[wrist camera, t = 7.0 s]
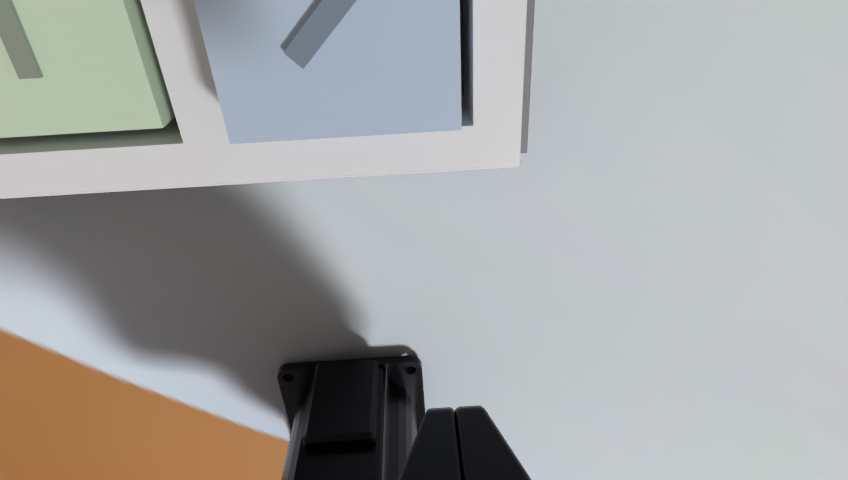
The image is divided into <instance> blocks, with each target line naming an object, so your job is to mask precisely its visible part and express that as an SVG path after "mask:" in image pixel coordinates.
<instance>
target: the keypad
mask: <svg viewBox="0 0 848 480" xmlns="http://www.w3.org/2000/svg"><path fill="white" fill-rule="evenodd" d="M140 1H141V4H142V7H143V11H144V14H145V17H146V21H147V24H148V27H149V31H150V34H151V37H152V41H153V44H154V47H155V51H156V54H157V57H158V61H159V64H160V67H161V71H162V74H163V77H164V81H165V84H166V87H167V91H168V94H169V97H170V100H171V104H172V107H173V110H174V114H175V117H174V118H173V119H172V120H171V121H170V122H169V123H168V124H167V125H166V126H165V127H164V128H156V129H140V130H123V131H107V132H91V133H74V134H58V135H41V136H25V137H9V138H0V199H6V198H23V197H39V196H55V195H72V194H88V193H105V192H121V191H137V190H154V189H170V188H187V187H203V186H219V185H236V184H252V183H268V182H285V181H301V180H318V179H334V178H350V177H367V176H383V175H400V174H416V173H432V172H449V171H465V170H482V169H498V168H514V167H520V153H527V142H528V122H529V102H530V83H531V63H532V44H533V24H534V4H535V0H460V48H461V111H462V130H455V131H438V132H422V133H405V134H389V135H373V136H356V137H340V138H323V139H307V140H291V141H274V142H258V143H241V144H230V142H229V138H228V134H227V130H226V126H225V123H224V119H223V115H222V111H221V107H220V103H219V99H218V95H217V91H216V87H215V83H214V79H213V75H212V71H211V67H210V63H209V59H208V56H207V52H206V48H205V44H204V40H203V36H202V32H201V28H200V24H199V20H198V16H197V12H196V8H195V4H194V0H140Z"/></svg>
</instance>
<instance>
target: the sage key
mask: <svg viewBox="0 0 848 480" xmlns="http://www.w3.org/2000/svg"><path fill="white" fill-rule="evenodd" d="M174 117H175V114H174V110H173V107H172V104H171V100H170V97H169V94H168V91H167V87H166V84H165V81H164V77H163V74H162V71H161V67H160V64H159V61H158V57H157V54H156V51H155V47H154V44H153V41H152V37H151V34H150V31H149V27H148V24H147V21H146V17H145V14H144V11H143V7H142V4H141V1H140V0H0V138H9V137H25V136H41V135H58V134H74V133H91V132H107V131H123V130H140V129H156V128H164V127H165V126H166V125H167V124H168V123H169V122H170V121H171V120H172V119H173V118H174Z"/></svg>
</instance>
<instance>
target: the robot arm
mask: <svg viewBox="0 0 848 480" xmlns="http://www.w3.org/2000/svg"><path fill="white" fill-rule="evenodd" d="M409 366H413V368H408V367H409ZM287 374H291V375H287ZM278 382H279V386H280V389H281V393H282V397H283V400H284V404H285V408H286V412H287V415H288V419H289V423H290V426H291V430H292V432H291V436H290V441H289V446H288V451H287V456H286V460H285V465H284V470H283V475H282V480H531V479H530V477H529V475H528V474H527V472H526V471H525V469H524V468H523V466H522V465H521V463H520V462H519V460H518V459H517V457H516V456H515V454H514V453H513V451H512V450H511V448H510V447H509V445H508V444H507V442H506V440H505V439H504V437H503V436H502V434H501V433H500V431H499V430H498V428H497V427H496V425H495V424H494V422H493V421H492V419H491V418H490V416H489V415H488V413H487V412H486V410H485V409H484V408H483V407H481V406H464V407H458V408H457V409H456V410H455V411H454V410H453V409H452V408H450V407H447V408H431V409H428V410H427V411H426V413H425V405H424V391H423V378H422V364H421V361H420V359H419V358H417V357H415V356H400V357H384V358H367V359H351V360H334V361H318V362H302V363H287V364H284V365H282V366H281V367H280V369H279V372H278Z"/></svg>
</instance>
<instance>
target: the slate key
mask: <svg viewBox="0 0 848 480" xmlns="http://www.w3.org/2000/svg"><path fill="white" fill-rule="evenodd" d="M194 4H195V8H196V12H197V16H198V20H199V24H200V28H201V32H202V36H203V40H204V44H205V48H206V52H207V56H208V59H209V63H210V67H211V71H212V75H213V79H214V83H215V87H216V91H217V95H218V99H219V103H220V107H221V111H222V115H223V119H224V123H225V126H226V130H227V134H228V138H229V142H230V144H241V143H258V142H274V141H291V140H307V139H323V138H340V137H356V136H373V135H389V134H405V133H422V132H438V131H455V130H462V111H461V48H460V0H194Z"/></svg>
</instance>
